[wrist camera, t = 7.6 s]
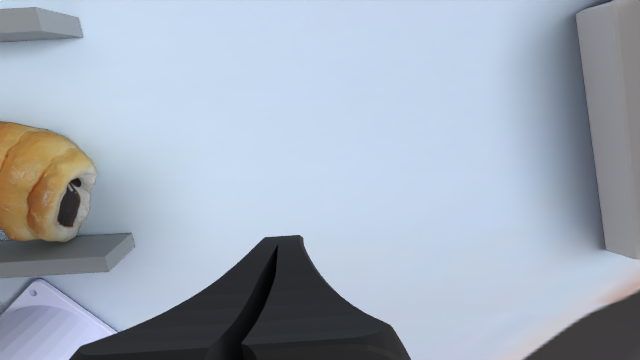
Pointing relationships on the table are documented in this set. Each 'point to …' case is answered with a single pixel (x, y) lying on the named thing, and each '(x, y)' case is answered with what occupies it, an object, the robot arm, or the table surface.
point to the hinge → (614, 115)
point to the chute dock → (79, 250)
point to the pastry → (42, 184)
